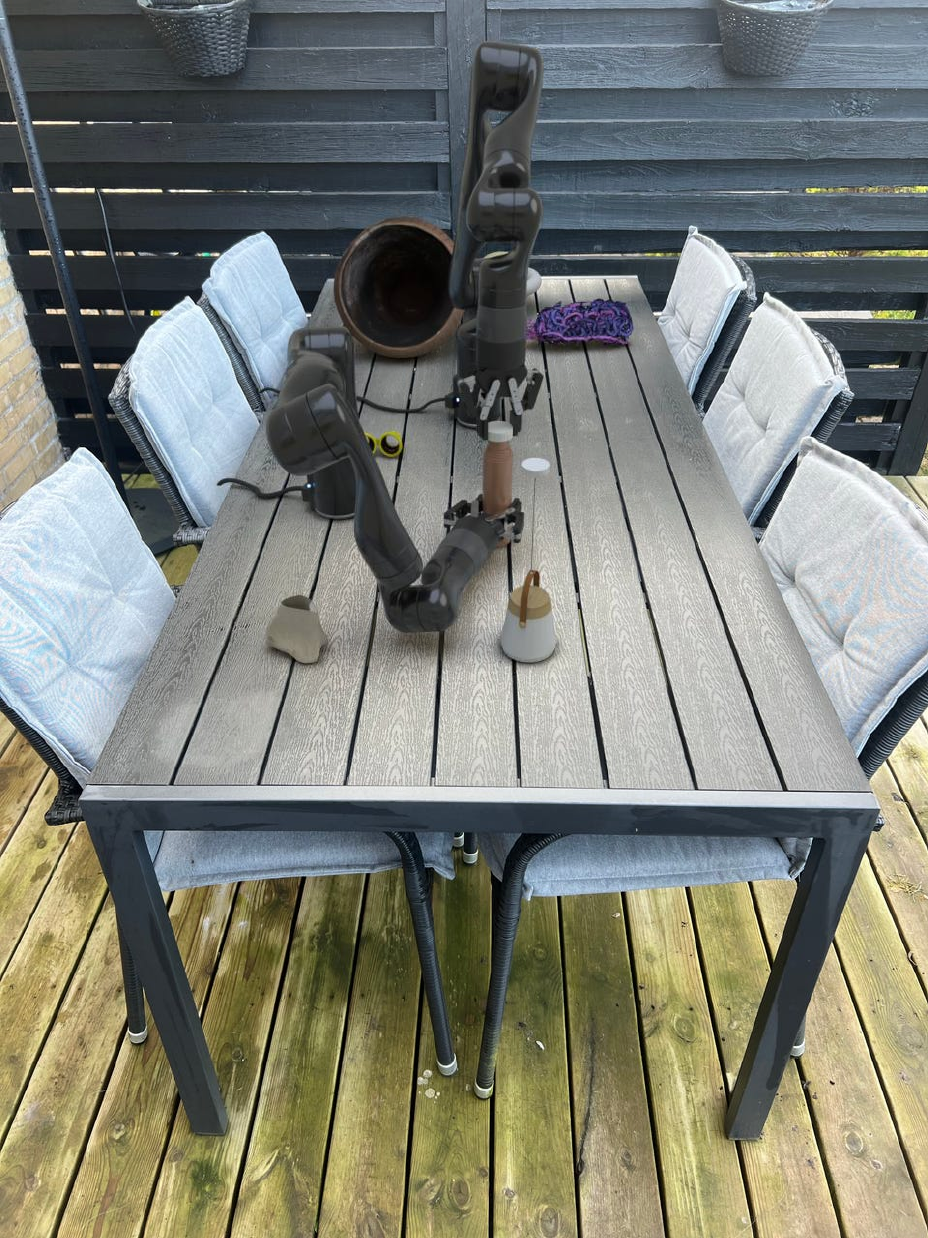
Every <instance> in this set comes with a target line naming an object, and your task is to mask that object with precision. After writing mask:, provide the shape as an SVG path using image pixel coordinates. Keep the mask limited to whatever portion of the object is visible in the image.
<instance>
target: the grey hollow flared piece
mask: <svg viewBox="0 0 928 1238" xmlns="http://www.w3.org/2000/svg"><path fill="white" fill-rule="evenodd" d="M327 641H328V634H327V633H326V632H325V631H324V630H323V628H322V623H321V619H320V614H319V607H318V606H317V605H316V603H315V602H314V601H313V600H312V599H311V598H309V597H307V596H305V595H302V594H297V595H292V596H289V597H288V596H287V597H286V598H284V599H283V600H281V602H280V604H279V605H278V607H277V610H276V612H275V614H274V615H273V616H272V617H271V620H270V622H269V623H268V626H267V628H266V632H265V644H266V646H269V647H271V648H275V649H278V650H279V651H281V652H285V653H287V654H288V655H290V657H292V658H293V659H294V660H295V661H297V662H299V663H302V664H311V663H316V662H317V661H318V659H319V656H320V650H321V648H322V647H323V645H325V644H326V643H327Z"/></svg>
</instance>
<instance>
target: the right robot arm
mask: <svg viewBox="0 0 928 1238" xmlns="http://www.w3.org/2000/svg"><path fill="white" fill-rule="evenodd" d="M544 68H545V67H544V58H543V55H542V52H541V51H540V50H539V48H536V47H533V46H530V45H525V44H517V43H510V42H502V41H495V40H484V41H481V42H480V43H478V45H477V46H476V48H475V50H474V53H473V56H472V61H471V69H470V79H469V96H468V114H467V130H466V131H467V133H466V144H465V150H464V151H465V152H464V159H463V164H462V170H461V171H462V172H461V178H460V185H459V194H458V207H457V220H456V230H455V238H454V241H453V242H454V247H453V252H452V257H451V262H450V267H449V273H448V285H447V289H448V297H449V300H450V303H451V305H452V306H453V307H454V308H456V309H459V310H465V311H470V310H476V315H474V316H473V317H471V318H469V319H467V320H465V321H463V322H460V325H459V326H458V328H457V329H456V331H455V337H456V338H455V339H456V340H455V341H456V344H455V345H456V374H455V375H454V376H453V377H452V391H451V392H449V393H447V394H446V395H444V397H438V398H435V399H432V400H429V401H427V402H426V403H425V404H423V405H422V406H420V407H417V408H413V409H412V408H411V409H400V408H394V407H390V406H385V405H381V404H380V405H379V404H377V403H375V402H373V401H371V400H370V399H367V398H365V397H363V396H359V395H356V399H357V400H359V401H362V402H364V403H365V404H368V405H370V406H372V407H373V408H376V409H378V410H383V411H387V412H394V413H403V414H411V413H418V412H419V413H420V412H422V411H424V410H425V409H427V408H428V407H429V406H431V405H432V404H436V403H440V402H444V407H445V408H447V409H449V410H453V419H454V420H456V421H457V422H458V424H460V425H461V426H463V427H466V428H471V429H475V431H476V433H477V435H478V437H479V438H480V439H481V440H482V441H484V442H486V441H488V423H489V422H492V421H502V410H501V409H502V398H507V399H508V401H509V405H510V408H511V410H509V423H510V424H511V425H512V426H513V437H514V438H515V437H518V436H519V433H521V431H522V422H523V414H524V412H526V411H528V410H529V411H531V410H533V409H534V408H535V405H536V402H537V398H538V395H539V394H540V393H539V392H540V390H541V387H542V384H543V381H544V376H545V375H543V374H542V373H541V372H540V370H539V369H538V368H536V367H535V368H534V367H533V368H532V369H528V368H527V366H526V355H527V354H526V352H527V351H526V350H527V343H526V342H527V340H526V339H527V338H526V333H527V329H528V328H527V327H528V325H527V322H528V312H527V299H526V293H527V275H528V267H529V266H530V261H531V257H532V253H533V250H534V246H535V245H536V241H537V238H538V235H539V232H540V229H541V225H542V220H543V217H544V205H543V201H542V198H541V196H540V194H539V193H538V192H537V191H536V190H535V189H533V188H531V187H530V184H531V176H532V175H531V174H532V173H531V172H532V147H533V139H534V134H535V131H536V128H537V127H536V126H537V121H538V117H539V111H540V104H541V98H542V92H543V84H544ZM490 111H494V112H503V113H509V114H507V115H506V116H505V117H504V118H503V119H501V120H500V121H499V122H498V123H497V124H496V125H494V127H493V126H492V122H491V121H492V120H491V118H490ZM487 243H514V244H515V245H514V247H513V248H512V249H511V250H510V251H508V252H509V253H506V254H503V255H499V256H495V257H491V258H484V257H481V258H477V256H478V255H479V253H480V251H481V250H482V249H483V248H484V246H486V244H487ZM529 268H530V267H529ZM524 381H526V386H525V388H524V392H523V394H522V398H521V394H520V392H519V388H520V387H521V385H522V383H524ZM267 391H270V392H274V393H276V394H280V391H281V390H279V389H276V388H274V387H269V386H267V387H266V386H265V387H263V388H262V389H260V390H259V391H258V394H263V393H265V392H267ZM513 437H512V438H513Z"/></svg>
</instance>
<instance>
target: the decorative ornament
mask: <svg viewBox="0 0 928 1238" xmlns="http://www.w3.org/2000/svg"><path fill="white" fill-rule="evenodd" d="M562 302H563V301H562V300H560V301H558V302H556V303H555V304H554V305H553V306H545V307H544V308H542V309H541V310H540V311H539V312H538V317H536V319H535V321H534V322H532V317H529V318H528V321H527V333H526V344H527V343H528V341H530V343H531V342H533V341H536V342H538V344H537V346H538V347H540V345H542V343H547V344H548V345H550V346H560V344H562V345H564V346H565V345H568V344H569V343H571V344H575V346H576V347H578V344H579V343H580V342H587V343H589V342H593V341H595V342H596V341H602V342H603V345H604V346H611V345H621V346H625V345H629V341H628V340H630V336H632V334H633V331H634V323H633V317H632V316H631V313H630V310H629V308H628V307H627V302H623V301H618V300H611V299H607V300H604V299H603V298H595V299H593V301H589V305H583V304H586V303H588V301H574V302H571V303H569V304H566V305H564V306H562ZM561 306H562V307H561ZM527 340H528V341H527Z"/></svg>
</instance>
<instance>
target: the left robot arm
mask: <svg viewBox="0 0 928 1238" xmlns="http://www.w3.org/2000/svg"><path fill="white" fill-rule="evenodd" d="M286 350H287V351H286V352H287V353H286V354H287V355H286V361H287V362H286V363H287V364H286V369H285V371H284V374H283V377H282V381H281V386H280V390H279V391H280V394H279V395H278V396H277V397H278V398H277V400H276V402H275V403H274V404H273V406H272V407H271V408H270V410H269V411H268V413H267V415H266V418H265V435H266V440H267V444H268V446H269V449H270V452H271V454H272V456H273V458H274V460H275V462H277V464H278V465H279V466H280V467H281V468H282V469H283V470H284V471H286V472H287V473H288V474H290V475H293V476H295V477H305V476H306V482H305V483H304V484H303V485H293V486H288V487H285V488H283V489H280V490H277V491H272V492H262V491H261V490H260V488H259V487H258V486H256V485H254V484H252V483H250V482H249V481H246V480H242V479H239V478H235V477H225V478H222V479H220V480H219V481H217V483H216V486H217V487H221V486H223V485H224V484H228V483H229V484H230V483H232V484H237V485H240V486H243V487H245V488H247V489H249V490H251V491H254V492H255V494H256V495H257V497H259V498H262V499H272V498H275V497H280V496H283V495H286V494H288V493H290V492H301V500H302V502H306V503H309V505H310V510H311V511H314V512H316V514H318V515H319V516H320V517H322V518H325V519H329V520H346V519H351V518H353V536H354V541H355V544H356V547H357V550H358V552H359V554H360V555H361V557H362V559H363V560H364V563H366V565H367V567H368V569H369V570H370V572H371V573H372V575H373V577H374V578H375V580H376V583H377V587H378V591H379V594H380V598H381V602H382V606H383V611H384V615H385V618H386V620H387V622H388V624H389V625H390V626H391V627H392V628H393V629H394V630H396V631H397V632H399V633H402V634H421V633H423V634H424V633H440V632H444V631H446V630H448V629H450V628H451V627H452V626H454V624H456V622H457V621H458V618H459V616H460V610H461V606H462V605H461V604H462V601H463V597H464V593H465V590H466V588H468V585H469V584H470V583H471V581H472V579H474V577H476V576H477V575H478V574H479V573H480V571H481V569H483V567H484V566H485V565H486V563H487V561H488V560H489V558H490V556H492V554H493V552H494V551H495V549H496V548H497V547H496V545H497V543H498V542H500V541H502V540H503V539H504V538H511V539H512V541H513V543H514V544H520V543H521V542H522V537H523V531H524V527H525V512H524V511H522V508H523V507H522V505H523V503H522V501H521V498H519V497H515V498H514V499H512V503H511V505H510V506H509V509H507V510H505V511H499V512H497V513H496V514H494V515H487V514H485V513H482V493H480V494H478V495H477V497H476V498H475V499H473V500H471V502H468V500H466V499H461V500H460V501H459V502H457V503H455V504H454V505H453V506H452V507H450V508H448V509H447V510H445V511H444V512H443V516H442V517H443V527H444V529H450V530H449V531H448V532H447V534H446V535H445V537H444V538H443V539H442V540H441V542H440V543H439V544H438V546H437V548H436V551H435V552H434V553H433V555H432V556H431V557H430V558H429V560H428V561H427V563H426V564H425V565H424V562H423V559H422V557H421V555H420V552H419V551H418V548H417V547H416V545H415V544H414V541H413V540H412V538H411V536H410V534H409V533H408V531H407V529H406V527H405V525H404V523H403V522H402V520H401V518H400V516H399V514H398V511H397V509H396V507H395V504H394V503H393V499H392V498H391V495H390V492H389V489H388V487H387V484H386V481H385V479H384V477H383V474H382V472H381V468H380V467H379V464H378V462H377V459H376V457H375V454H373V452H372V450H371V448H370V445H369V439H368V437H367V436H365V434H364V433H365V431H364V429H363V426H362V425H361V422H360V419H359V418H360V417H359V409H358V408H359V407H358V401H357V400H358V399H356V396H357V385H356V383H357V382H356V354H355V352H356V351H355V343H354V338H353V337H352V335H351V332H350V331H349V329H348V328H347V327H345V325H344V326H343V325H334V326H333V325H331V326H330V325H329V326H311V327H301V328H297V329H295V330H293V332H292V333H291V334H290V335H289V338H288V342H287V349H286ZM468 514H469V515H468ZM507 518H508V519H507ZM510 525H511V527H510V528H509V530H507V527H508V526H510ZM419 578H420V584H414V583H415V582H416V581H417V580H419Z"/></svg>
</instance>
